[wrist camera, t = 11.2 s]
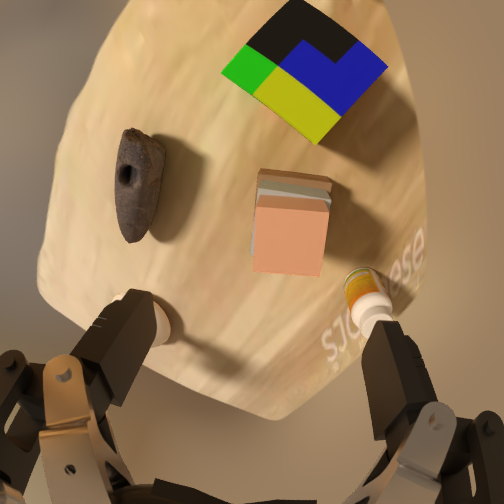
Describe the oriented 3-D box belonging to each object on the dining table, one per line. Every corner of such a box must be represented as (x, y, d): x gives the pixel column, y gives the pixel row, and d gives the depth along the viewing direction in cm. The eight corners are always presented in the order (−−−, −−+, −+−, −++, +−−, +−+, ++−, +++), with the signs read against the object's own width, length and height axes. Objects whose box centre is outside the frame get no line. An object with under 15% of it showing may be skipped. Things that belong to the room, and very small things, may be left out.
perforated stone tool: (159, 238, 39) (137, 261, 32) (127, 228, 39) (102, 249, 32) (178, 131, 32) (154, 135, 26) (141, 125, 32) (112, 128, 26)
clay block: (259, 194, 27) (255, 206, 23) (323, 199, 26) (329, 212, 22) (257, 252, 29) (253, 271, 26) (316, 256, 29) (319, 276, 25)
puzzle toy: (360, 80, 27) (388, 66, 18) (306, 138, 31) (315, 145, 22) (292, 28, 25) (295, -5, 16) (239, 86, 29) (220, 73, 20)
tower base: (260, 168, 33) (257, 173, 30) (327, 176, 33) (332, 183, 29) (255, 229, 37) (252, 242, 33) (317, 237, 36) (320, 250, 33)
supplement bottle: (335, 291, 39) (346, 337, 30) (355, 260, 37) (372, 302, 28) (365, 303, 39) (381, 349, 31) (385, 274, 37) (407, 317, 28)
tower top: (261, 179, 30) (258, 187, 26) (326, 190, 30) (331, 200, 26) (253, 239, 33) (249, 254, 29) (313, 248, 33) (316, 264, 29)
